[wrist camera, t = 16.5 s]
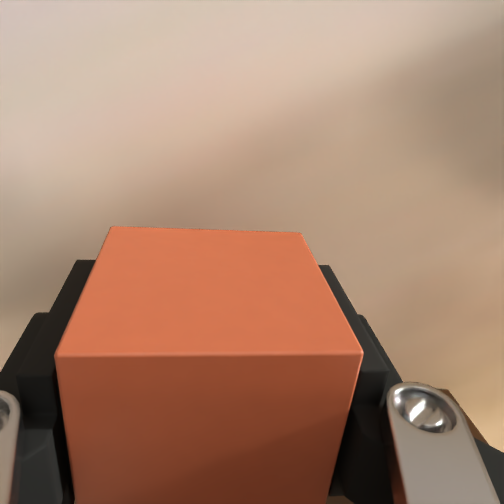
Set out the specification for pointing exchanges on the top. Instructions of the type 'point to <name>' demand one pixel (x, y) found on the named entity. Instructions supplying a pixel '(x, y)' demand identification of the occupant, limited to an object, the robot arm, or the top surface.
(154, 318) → the block
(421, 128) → the top surface
